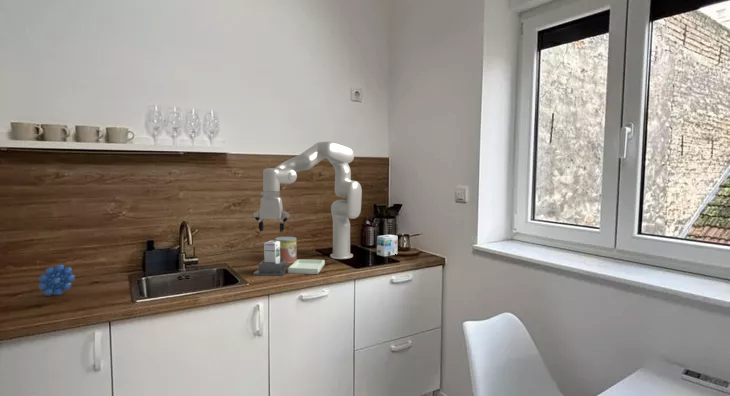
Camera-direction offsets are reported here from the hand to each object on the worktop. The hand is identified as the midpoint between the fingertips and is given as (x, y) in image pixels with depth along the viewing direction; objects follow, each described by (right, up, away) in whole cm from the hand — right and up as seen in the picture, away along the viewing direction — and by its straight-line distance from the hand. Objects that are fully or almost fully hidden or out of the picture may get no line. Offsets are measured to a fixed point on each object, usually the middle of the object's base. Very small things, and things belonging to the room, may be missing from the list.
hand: (271, 231), depth 193 cm
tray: (+16, -19, +8) cm, 26 cm away
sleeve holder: (0, -19, +2) cm, 19 cm away
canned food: (+2, -18, +25) cm, 30 cm away
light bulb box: (+57, -17, +41) cm, 72 cm away
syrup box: (0, -20, +2) cm, 20 cm away
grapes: (-75, -22, -34) cm, 85 cm away
